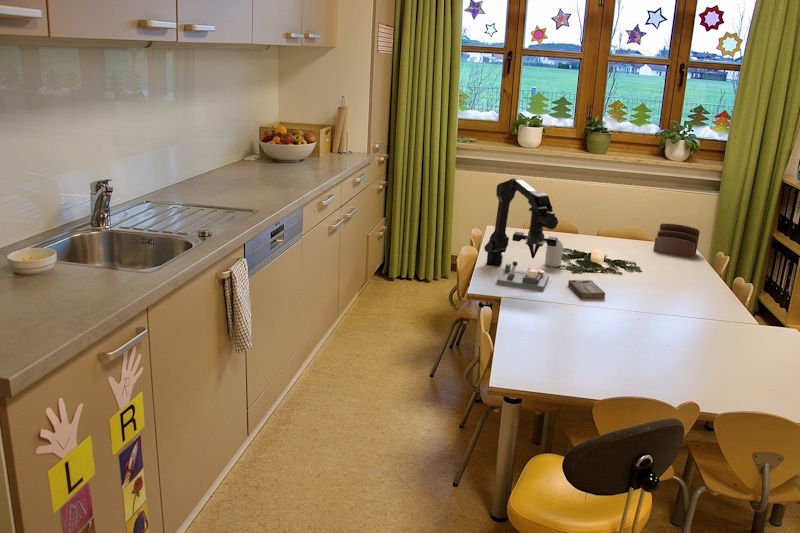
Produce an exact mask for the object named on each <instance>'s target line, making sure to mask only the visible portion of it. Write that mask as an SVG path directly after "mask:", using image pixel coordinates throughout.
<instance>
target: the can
mask: <svg viewBox="0 0 800 533" xmlns="http://www.w3.org/2000/svg"><path fill="white" fill-rule="evenodd" d="M563 250H564V244H563V241H561V240H559V239H558V244H557V246H556V247H553V246H548V245H547V244H546V250H545V260H544V263H545V265H546V266H547V267H550V268H558V267H560V266H561V265H562V258H563Z"/></svg>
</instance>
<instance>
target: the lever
mask: <svg viewBox="0 0 800 533" xmlns="http://www.w3.org/2000/svg"><path fill="white" fill-rule="evenodd" d="M511 265H512V266H511V269H512V270H511V273H510V276H513V274H514V271H515V270H516V267H517V266H518V261H516V260H514V261H512V263H511Z"/></svg>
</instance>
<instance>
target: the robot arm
mask: <svg viewBox="0 0 800 533" xmlns="http://www.w3.org/2000/svg"><path fill="white" fill-rule="evenodd" d="M495 189H496V194H495V195H496V197H497V200H498V206H497V212H496V217H495V218H496V219H495V226H494V231H493V232H492V233H491V235H490V237H489V240H488V242H487V243H486V244H485V245H484V248H483V249H484V251H485V252H486V253H487V256H486V258H487V259H486V263H485V265H486V266H492V267H501V266H502V264H503V259H504V255H503V253H506V251H507V248H508V246H509V239H510V238H509V236H508V235H507V233H506V231H507V223H508V217H509V210H510V205H511V204H510V203H511V202H512V201H513V199H514V198H515V196H516V192H519V193H520V194H521V195H523V196H524V197H525V198H526V199H527V203H528V204H529V205H530V206H531V207H529V208H528V211H529V212H530V213H531V214H530V220H529V221H530V223H529V229H528V233H527V235H524V234H525V233H524V232H521V231H515V232H514V233H513V235H512V239H511V240H512V241H513V242H521V241H522V240H524V241H525V245H527V246H528V249H529V252H530V255H531V256H530V257H531V259H535V257H536V254H537V252H538V251H539V249H540V247H543V246H544V244H546V246H547V245H548V246H553V247H556V246H557V244H558V240H559V239H558V237H557V236H548V238H547V237H545V233H544V228H545V229H548V230H554V229H556V227H557V226H558V224H559V221H558V220H559V219H558V218H557V216H556V213H555V212H553V211H554V210H553V206H552V204H551V199H550V197H549V195H548V194H547V193H544V192H542V191H537V190H536V189H535V188H533V187H532V186H530V184H528V183H527V182H525V181H524V179H523V178H522V177H513V178H510V179H509V180H506V181H503V182H499V184H497V186H496V188H495Z"/></svg>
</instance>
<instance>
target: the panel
mask: <svg viewBox="0 0 800 533" xmlns="http://www.w3.org/2000/svg"><path fill="white" fill-rule="evenodd" d="M511 270H512V268H511ZM511 270H510V272H507V271H505V268H504V269H502V270H501V271H502V272H501V273H500V274H499V276H498V277H497V279H496V285H500V286H508V287H513V288H514V287H515V288H520V289H525V290H535V291H540V292H544V290H545V288H546V286H547V283H548V282H549V279H550V274H548V273H544V274H543V276H542V277H541V275H537V279H534V278H527V270H519V269H515V271H514V274H513V276H510V273H511Z"/></svg>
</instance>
